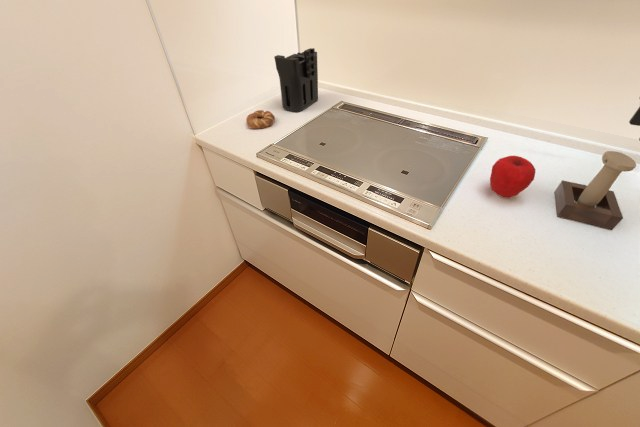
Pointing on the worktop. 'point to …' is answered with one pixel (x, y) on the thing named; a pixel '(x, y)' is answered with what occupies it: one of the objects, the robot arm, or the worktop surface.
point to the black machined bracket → (298, 79)
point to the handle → (606, 177)
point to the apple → (511, 176)
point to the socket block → (586, 207)
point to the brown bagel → (260, 119)
